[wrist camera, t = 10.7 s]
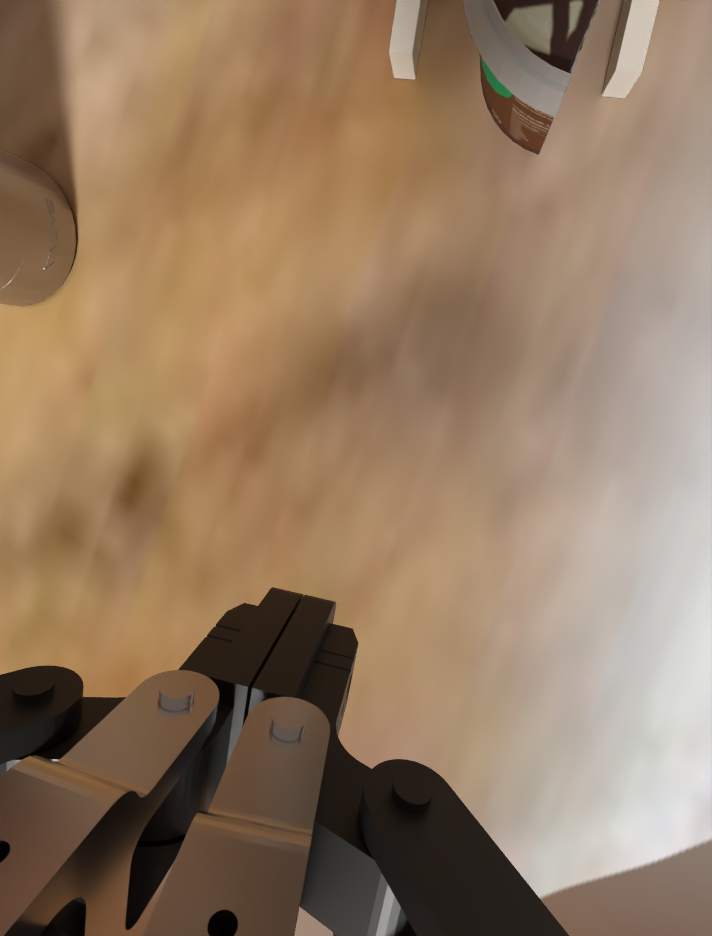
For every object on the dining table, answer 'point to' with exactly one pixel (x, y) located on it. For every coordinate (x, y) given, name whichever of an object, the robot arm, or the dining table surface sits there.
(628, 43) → the bay
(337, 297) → the dining table surface
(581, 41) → the food container
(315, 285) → the dining table surface
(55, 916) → the robot arm
